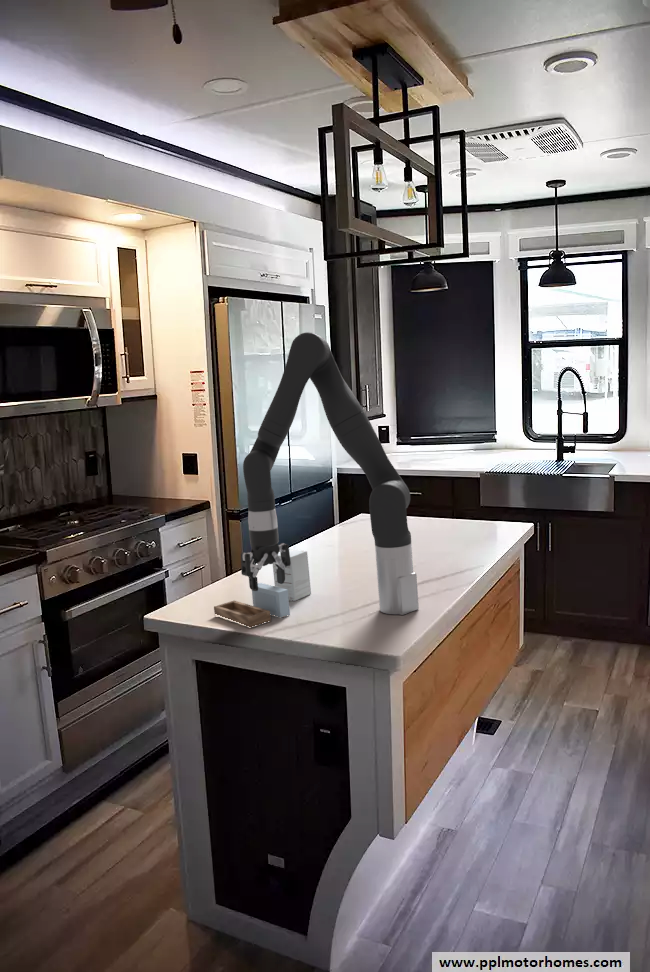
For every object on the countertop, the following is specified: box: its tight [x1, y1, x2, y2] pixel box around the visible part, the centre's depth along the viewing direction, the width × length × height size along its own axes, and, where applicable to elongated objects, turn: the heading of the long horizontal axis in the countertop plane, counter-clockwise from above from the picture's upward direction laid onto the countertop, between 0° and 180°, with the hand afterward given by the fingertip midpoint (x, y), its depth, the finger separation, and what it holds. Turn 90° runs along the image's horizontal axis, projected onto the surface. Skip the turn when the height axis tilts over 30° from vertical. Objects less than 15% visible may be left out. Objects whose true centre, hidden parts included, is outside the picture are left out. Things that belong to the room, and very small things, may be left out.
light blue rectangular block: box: [251, 582, 291, 618], centre depth 211 cm, size 12×3×7 cm, turn 41°
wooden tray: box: [213, 600, 272, 627], centre depth 208 cm, size 16×6×3 cm, turn 41°
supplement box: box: [272, 548, 312, 602], centre depth 224 cm, size 7×7×13 cm
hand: (268, 586), depth 211 cm, fingers open, 8 cm apart
